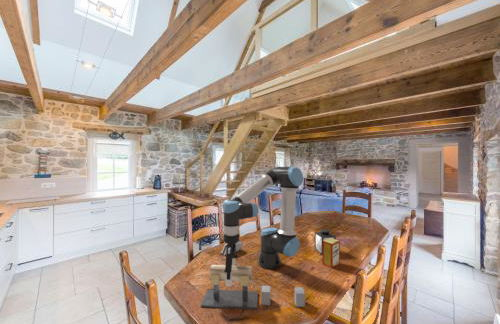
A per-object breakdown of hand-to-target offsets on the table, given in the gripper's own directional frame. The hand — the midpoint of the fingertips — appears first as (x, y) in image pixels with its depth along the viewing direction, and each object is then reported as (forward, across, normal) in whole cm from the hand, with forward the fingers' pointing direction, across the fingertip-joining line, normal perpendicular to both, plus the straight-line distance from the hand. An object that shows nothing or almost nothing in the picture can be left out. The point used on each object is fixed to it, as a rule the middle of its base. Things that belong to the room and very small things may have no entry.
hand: (230, 277), depth 101 cm
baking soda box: (+11, -41, +61) cm, 74 cm away
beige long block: (+1, 0, 0) cm, 1 cm away
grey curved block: (+11, -55, -7) cm, 56 cm away
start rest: (+11, 0, +25) cm, 27 cm away
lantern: (+11, -62, +63) cm, 89 cm away
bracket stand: (+11, 0, 0) cm, 11 cm away
